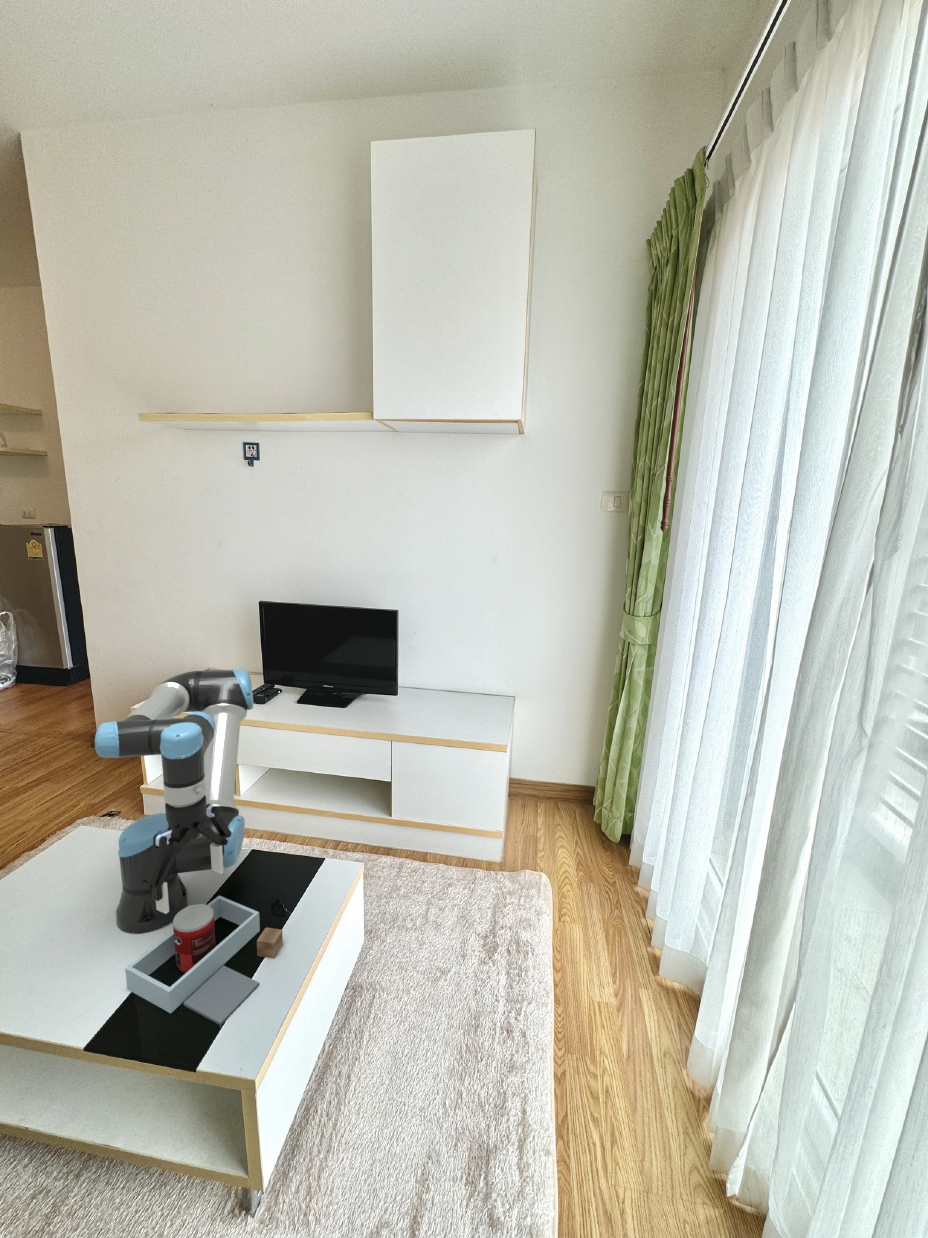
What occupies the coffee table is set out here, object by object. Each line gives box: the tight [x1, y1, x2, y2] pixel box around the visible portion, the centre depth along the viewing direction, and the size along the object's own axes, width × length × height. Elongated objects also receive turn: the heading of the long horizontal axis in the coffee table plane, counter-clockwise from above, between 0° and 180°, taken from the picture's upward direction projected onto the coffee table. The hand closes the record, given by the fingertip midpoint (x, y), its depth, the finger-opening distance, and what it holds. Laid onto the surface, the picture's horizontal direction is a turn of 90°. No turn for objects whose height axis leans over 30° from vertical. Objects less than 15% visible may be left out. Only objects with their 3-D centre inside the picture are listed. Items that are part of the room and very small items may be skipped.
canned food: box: [172, 903, 216, 974], centre depth 117 cm, size 8×8×11 cm
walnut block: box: [256, 927, 284, 960], centre depth 121 cm, size 4×4×4 cm
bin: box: [124, 895, 261, 1014], centre depth 118 cm, size 13×24×5 cm, turn 157°
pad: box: [183, 964, 260, 1026], centre depth 110 cm, size 10×10×1 cm
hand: (191, 890), depth 114 cm, fingers open, 13 cm apart
